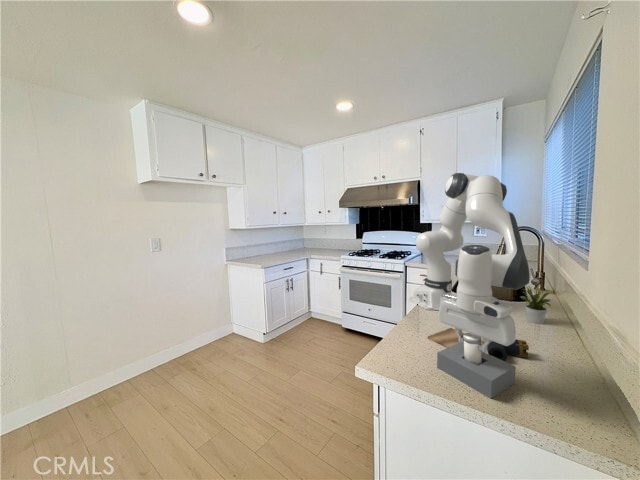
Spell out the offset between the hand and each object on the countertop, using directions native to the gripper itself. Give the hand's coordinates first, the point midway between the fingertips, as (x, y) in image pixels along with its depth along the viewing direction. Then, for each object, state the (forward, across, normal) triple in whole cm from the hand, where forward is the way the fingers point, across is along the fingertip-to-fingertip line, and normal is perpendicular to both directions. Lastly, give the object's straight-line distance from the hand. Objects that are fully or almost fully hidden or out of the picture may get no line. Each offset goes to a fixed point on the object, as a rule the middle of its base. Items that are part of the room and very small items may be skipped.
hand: (472, 346), depth 76 cm
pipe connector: (+9, 0, +22) cm, 23 cm away
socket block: (+9, 0, 0) cm, 9 cm away
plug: (+7, 0, 0) cm, 7 cm away
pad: (+9, -14, +15) cm, 22 cm away
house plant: (+9, -4, +58) cm, 59 cm away
